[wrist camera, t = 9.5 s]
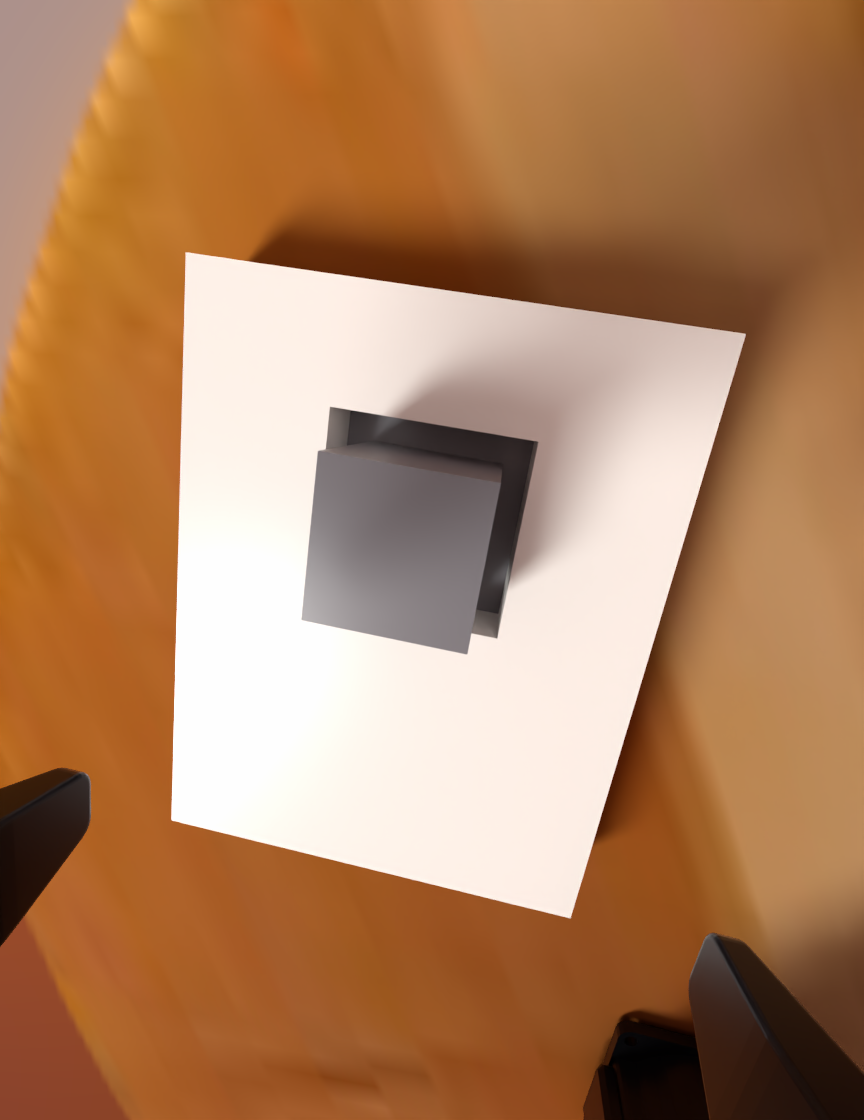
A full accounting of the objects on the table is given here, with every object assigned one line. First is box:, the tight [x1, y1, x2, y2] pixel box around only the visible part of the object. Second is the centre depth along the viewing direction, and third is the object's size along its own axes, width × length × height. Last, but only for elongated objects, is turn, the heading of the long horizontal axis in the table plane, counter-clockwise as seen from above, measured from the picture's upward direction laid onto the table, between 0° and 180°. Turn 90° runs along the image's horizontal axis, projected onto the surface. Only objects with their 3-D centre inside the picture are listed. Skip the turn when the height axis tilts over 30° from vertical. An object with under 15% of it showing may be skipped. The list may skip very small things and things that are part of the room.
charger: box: [301, 441, 503, 654], centre depth 14 cm, size 4×4×5 cm
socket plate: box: [172, 253, 746, 918], centre depth 17 cm, size 14×18×2 cm
